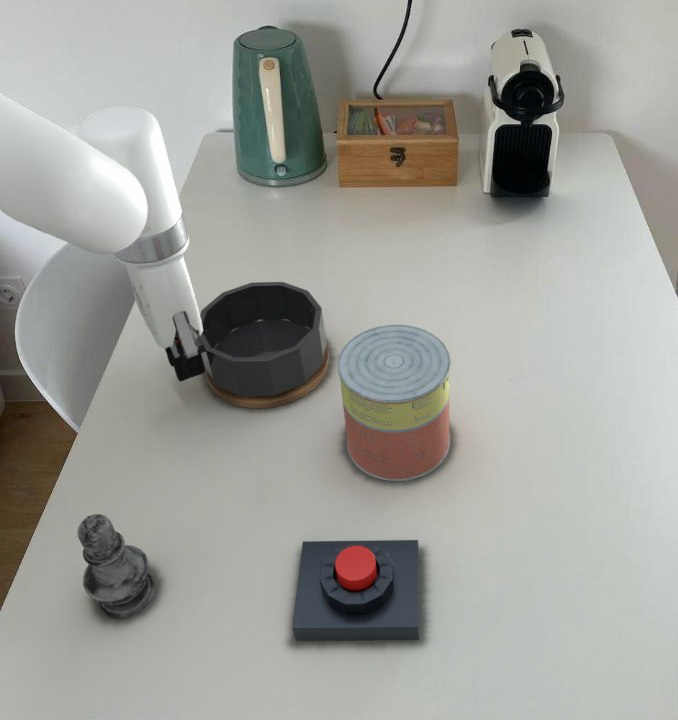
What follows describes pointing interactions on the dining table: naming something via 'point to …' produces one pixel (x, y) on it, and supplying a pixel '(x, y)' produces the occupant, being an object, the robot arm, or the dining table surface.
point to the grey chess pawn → (114, 569)
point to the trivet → (277, 399)
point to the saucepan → (262, 338)
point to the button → (356, 568)
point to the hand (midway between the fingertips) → (187, 367)
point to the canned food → (396, 401)
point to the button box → (358, 594)
